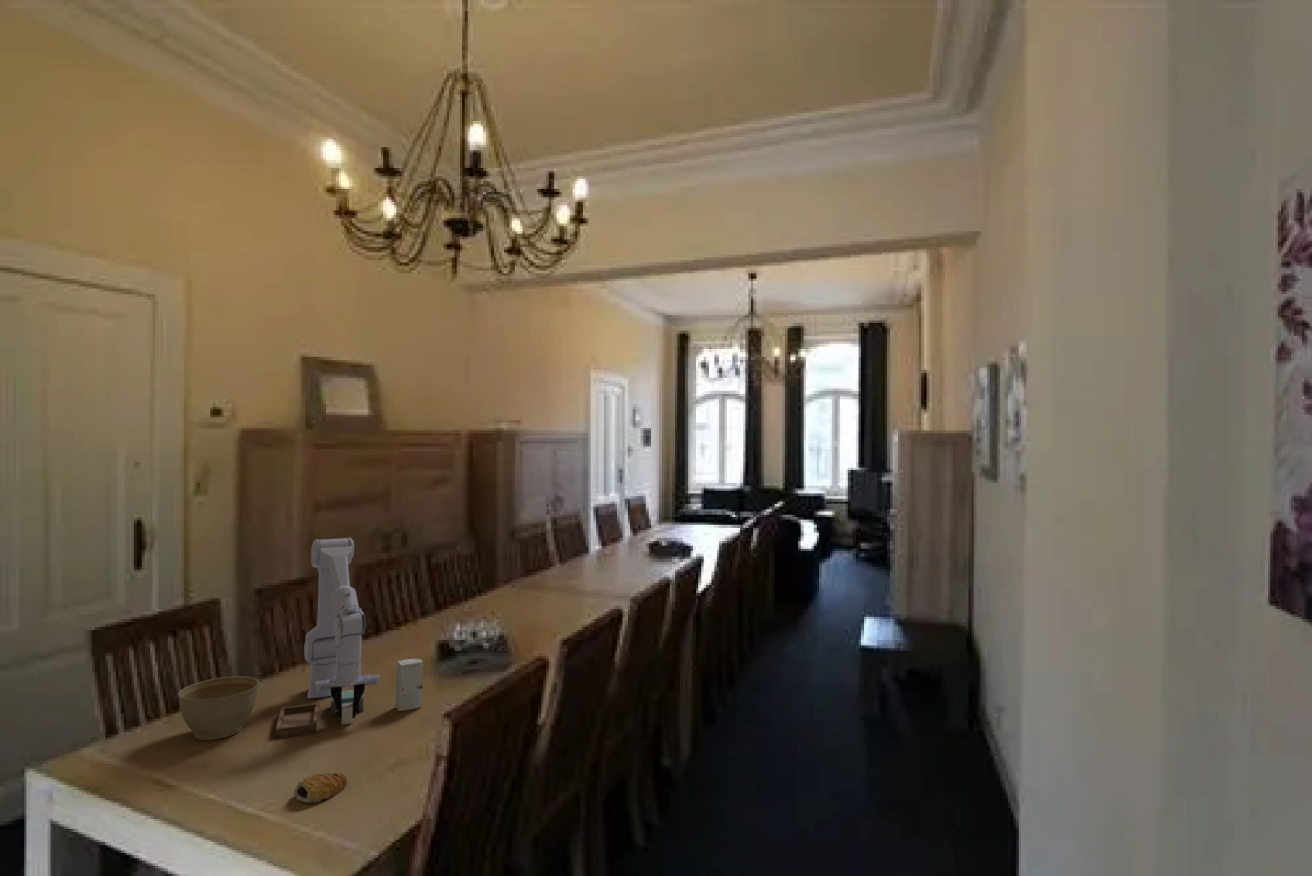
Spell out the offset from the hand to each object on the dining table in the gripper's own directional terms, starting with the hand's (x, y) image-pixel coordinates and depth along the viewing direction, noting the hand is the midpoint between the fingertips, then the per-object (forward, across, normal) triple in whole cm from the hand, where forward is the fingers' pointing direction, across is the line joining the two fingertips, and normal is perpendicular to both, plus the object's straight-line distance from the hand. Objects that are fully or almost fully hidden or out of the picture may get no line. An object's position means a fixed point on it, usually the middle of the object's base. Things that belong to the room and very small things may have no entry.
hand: (347, 716), depth 170 cm
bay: (+1, 0, +9) cm, 9 cm away
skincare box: (+2, +15, +5) cm, 16 cm away
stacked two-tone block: (+1, 0, +4) cm, 4 cm away
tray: (+1, -11, +3) cm, 11 cm away
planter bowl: (+2, -28, +4) cm, 28 cm away
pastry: (+2, -5, -36) cm, 37 cm away
